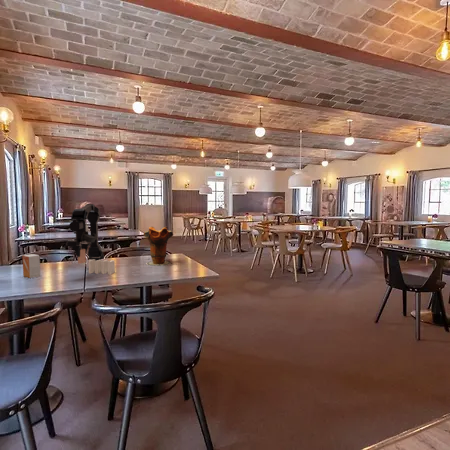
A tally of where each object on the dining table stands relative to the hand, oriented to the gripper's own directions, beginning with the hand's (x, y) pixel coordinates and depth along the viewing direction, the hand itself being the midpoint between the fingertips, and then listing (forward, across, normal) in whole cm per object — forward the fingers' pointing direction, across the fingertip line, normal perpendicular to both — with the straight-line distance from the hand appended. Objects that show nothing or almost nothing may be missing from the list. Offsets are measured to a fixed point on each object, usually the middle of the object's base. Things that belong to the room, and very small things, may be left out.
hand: (81, 256), depth 189 cm
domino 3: (+13, +13, -2) cm, 19 cm away
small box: (+13, -3, +32) cm, 35 cm away
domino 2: (+13, +13, +2) cm, 19 cm away
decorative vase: (+13, +49, -28) cm, 58 cm away
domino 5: (+13, +13, -11) cm, 22 cm away
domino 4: (+13, +13, -7) cm, 20 cm away
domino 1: (+4, 0, 0) cm, 4 cm away
